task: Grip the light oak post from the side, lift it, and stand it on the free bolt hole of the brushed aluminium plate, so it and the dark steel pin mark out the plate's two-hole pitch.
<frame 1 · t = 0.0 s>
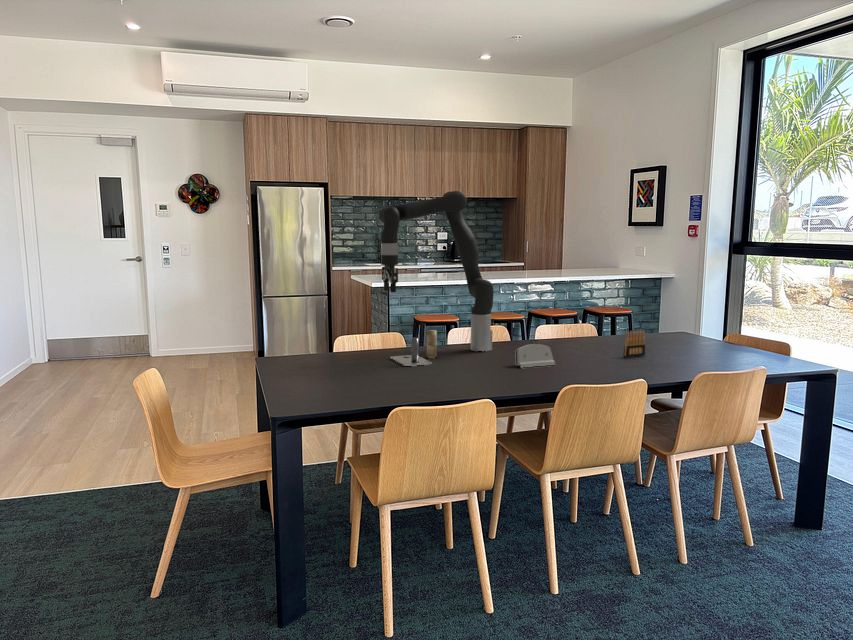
hand: (389, 291, 271), 29 cm above the table, tool pointing down, fingers open, 8 cm apart
ammunition clip: (634, 356, 279), on the table
bolt plate: (410, 361, 266), on the table
oak post: (431, 357, 275), on the table
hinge: (533, 366, 260), on the table
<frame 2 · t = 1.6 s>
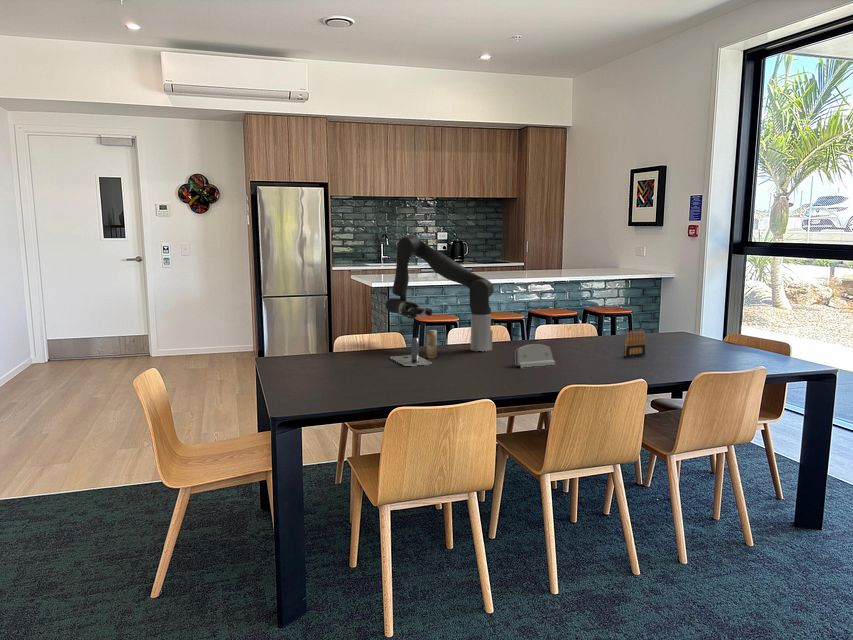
hand: (422, 313, 283), 18 cm above the table, tool horizontal, fingers open, 8 cm apart
nothing on the table moved.
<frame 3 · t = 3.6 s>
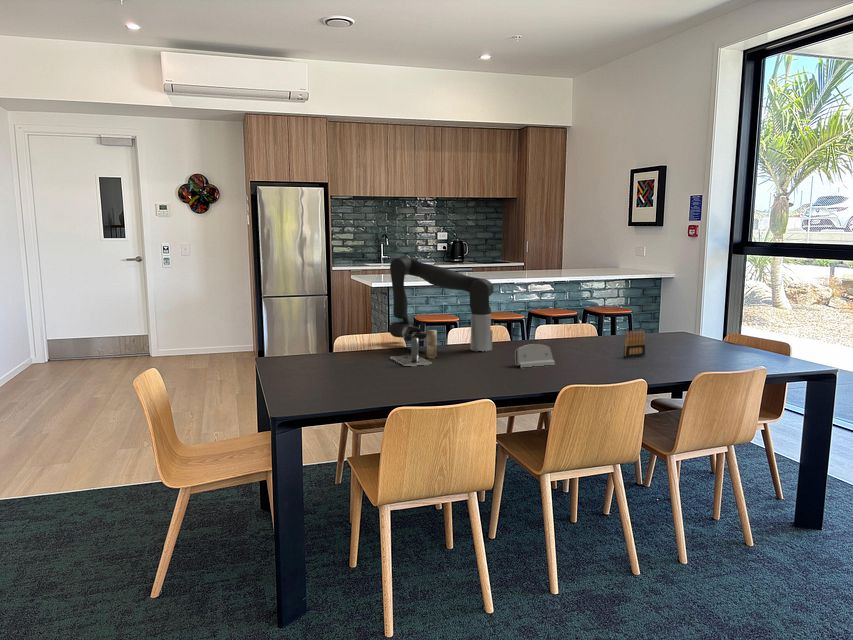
hand: (425, 339, 281), 7 cm above the table, tool horizontal, fingers open, 8 cm apart
nothing on the table moved.
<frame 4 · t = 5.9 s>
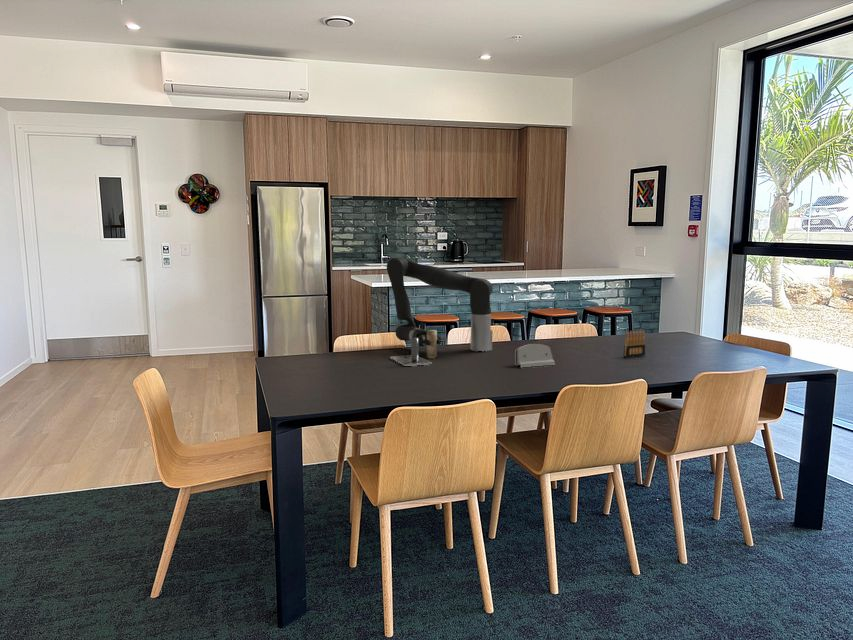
hand: (434, 342, 272), 7 cm above the table, tool horizontal, fingers closed on oak post, 4 cm apart
oak post: (431, 357, 275), on the table, touching gripper
everything else where it was.
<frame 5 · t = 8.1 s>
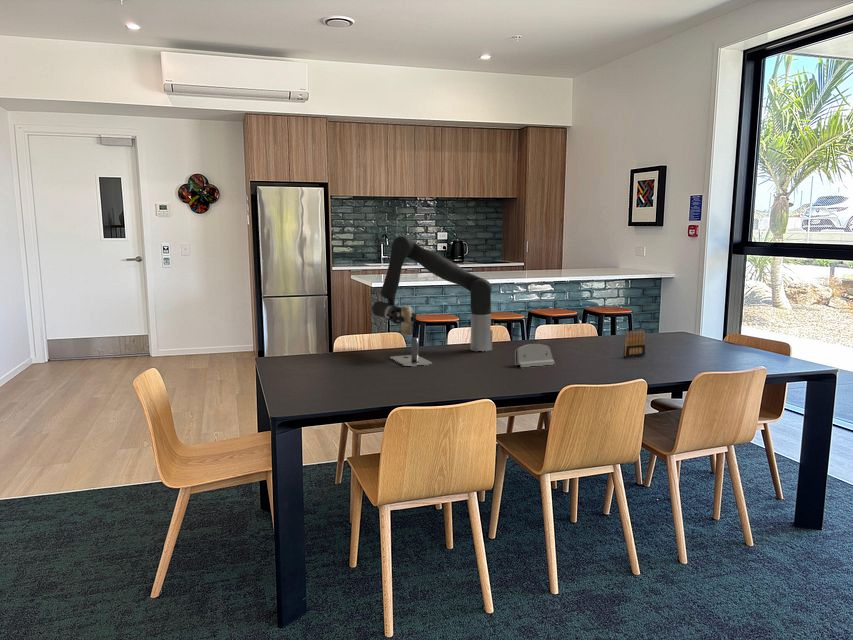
hand: (408, 319, 266), 18 cm above the table, tool horizontal, fingers closed on oak post, 4 cm apart
oak post: (406, 334, 270), point 11 cm above the table, touching gripper
everything else where it was.
when the fingers open (9 cm above the table, at t = 10.5 s): oak post drops 1 cm, resting on bolt plate.
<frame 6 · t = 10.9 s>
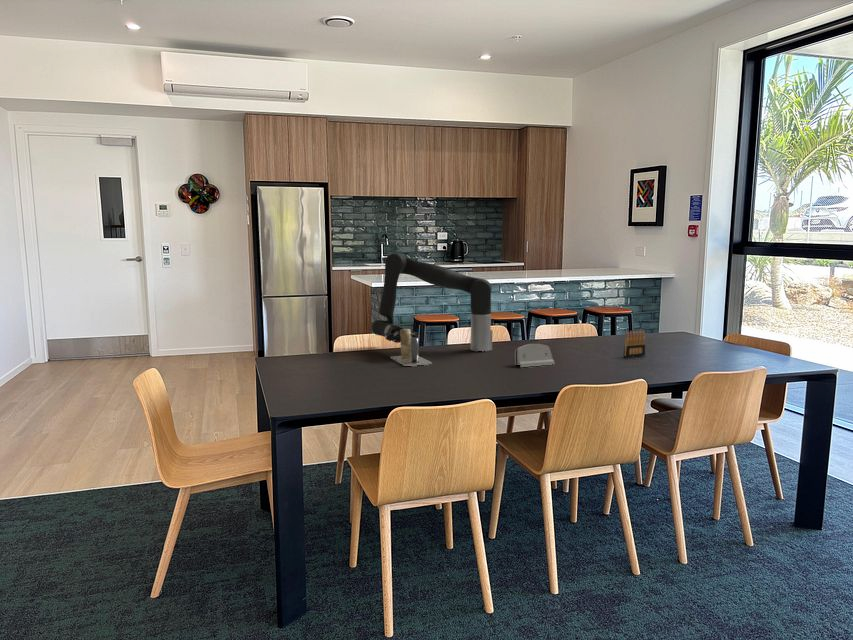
hand: (408, 338, 267), 10 cm above the table, tool horizontal, fingers open, 7 cm apart
oak post: (406, 357, 271), point 1 cm above the table, touching bolt plate
everything else where it was.
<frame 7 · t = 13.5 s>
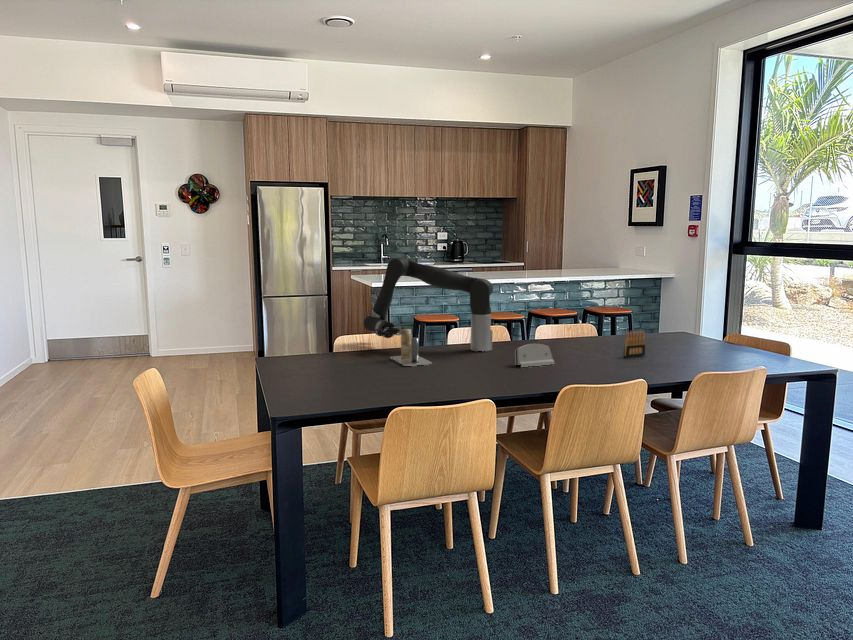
hand: (397, 334, 279), 10 cm above the table, tool horizontal, fingers open, 8 cm apart
nothing on the table moved.
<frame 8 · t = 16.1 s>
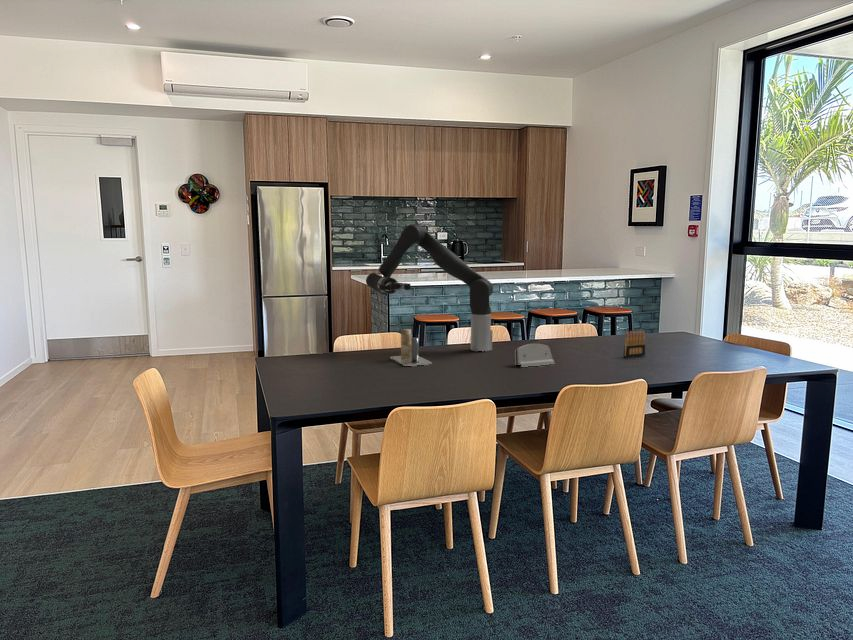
hand: (399, 288, 279), 30 cm above the table, tool horizontal, fingers open, 8 cm apart
at the end: oak post 0.1 cm from the target spot, point 1.0 cm above the table; oak post tilted 0°; oak post touching bolt plate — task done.
